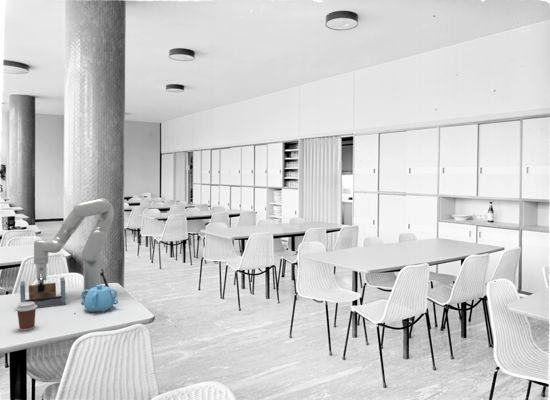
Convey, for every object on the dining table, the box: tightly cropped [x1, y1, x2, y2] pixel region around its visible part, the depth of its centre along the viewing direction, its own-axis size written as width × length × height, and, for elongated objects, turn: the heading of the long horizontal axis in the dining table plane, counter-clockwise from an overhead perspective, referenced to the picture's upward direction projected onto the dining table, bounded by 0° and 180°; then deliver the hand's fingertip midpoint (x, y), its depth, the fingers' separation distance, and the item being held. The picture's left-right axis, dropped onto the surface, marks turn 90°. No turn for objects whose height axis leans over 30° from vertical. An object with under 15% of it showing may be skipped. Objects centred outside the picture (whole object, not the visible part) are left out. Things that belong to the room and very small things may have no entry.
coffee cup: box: [15, 302, 38, 331], centre depth 214 cm, size 9×9×12 cm
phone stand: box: [100, 268, 110, 288], centre depth 290 cm, size 9×6×12 cm, turn 113°
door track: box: [19, 277, 67, 310], centre depth 251 cm, size 22×9×14 cm, turn 118°
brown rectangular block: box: [28, 282, 57, 299], centre depth 263 cm, size 14×3×9 cm, turn 118°
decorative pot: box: [80, 284, 119, 313], centre depth 244 cm, size 16×16×14 cm
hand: (40, 289), depth 263 cm, fingers open, 9 cm apart
